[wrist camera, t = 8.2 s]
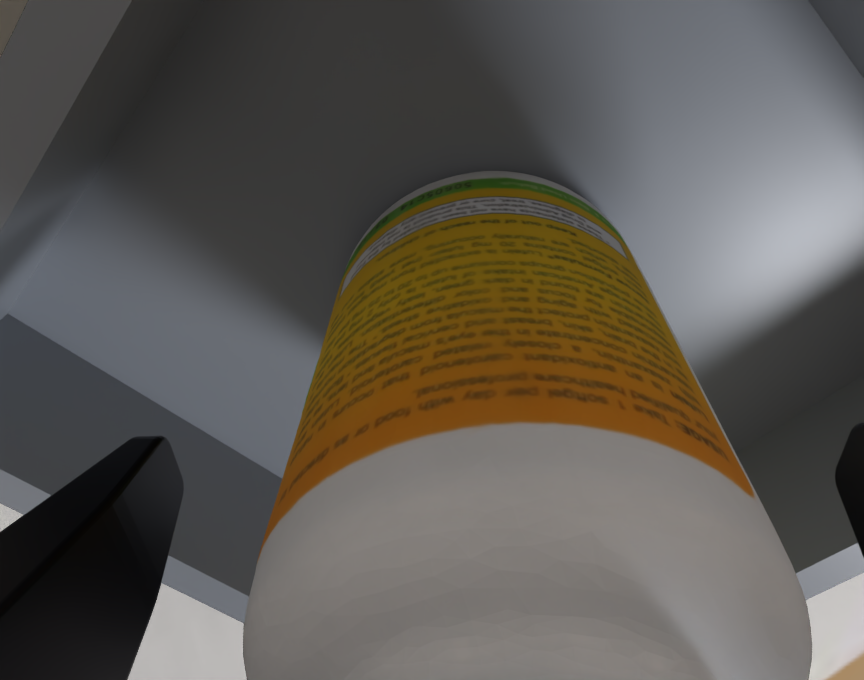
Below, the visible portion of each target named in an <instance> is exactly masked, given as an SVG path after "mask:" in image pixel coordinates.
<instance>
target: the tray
mask: <svg viewBox="0 0 864 680" xmlns="http://www.w3.org/2000/svg"><path fill="white" fill-rule="evenodd" d="M480 171H509V172H516V173H523V174H528V175H533V176H537V177H540V178H544V179H546V180H549V181H552V182H554V183H557V184H559V185H561V186H563V187H565V188H567V189H569V190H571V191H573V192H574V193H576V194H578V195H579V196H581V197H583V198H584V199H586V200H587V201H589V202H590V203H591V204H593V205H594V206H595V207H596V208H597V209H598V210H600V211H601V212H602V213H603V214H604V215H605V216H606V217H607V218H608V219H609V220H610V221H611V222H612V223H613V225H614V226H615V227H616V228H617V230H618V231H619V232H620V234H621V235H622V237H623V238H624V240H625V242H626V243H627V245H628V247H629V248H630V250H631V252H632V254H633V255H634V257H635V259H636V261H637V263H638V265H639V267H640V269H641V271H642V272H643V274H644V276H645V278H646V280H647V282H648V283H649V285H650V287H651V289H652V291H653V293H654V295H655V297H656V299H657V301H658V303H659V305H660V307H661V309H662V311H663V313H664V315H665V317H666V319H667V321H668V323H669V325H670V327H671V329H672V331H673V332H674V334H675V336H676V338H677V340H678V342H679V344H680V346H681V348H682V350H683V352H684V354H685V356H686V358H687V360H688V362H689V364H690V366H691V367H692V369H693V371H694V373H695V375H696V377H697V379H698V381H699V383H700V385H701V387H702V389H703V391H704V393H705V395H706V397H707V399H708V401H709V402H710V404H711V406H712V408H713V410H714V412H715V414H716V416H717V418H718V420H719V422H720V424H721V426H722V428H723V430H724V432H725V434H726V436H727V438H728V439H729V441H730V443H731V445H732V447H733V449H734V451H735V453H736V455H737V457H738V459H739V461H740V463H741V464H742V466H743V468H744V470H745V472H746V474H747V476H748V478H749V480H750V482H751V484H752V486H753V487H754V489H755V491H756V493H757V495H758V497H759V499H760V501H761V503H762V505H763V507H764V509H765V511H766V513H767V515H768V516H769V518H770V520H771V522H772V524H773V526H774V528H775V530H776V532H777V534H778V536H779V538H780V540H781V543H782V545H783V547H784V549H785V551H786V553H787V555H788V557H789V559H790V561H791V563H792V566H793V568H794V571H795V573H796V576H797V578H798V580H799V583H800V585H801V588H802V590H803V593H804V597H805V600H807V599H809V598H811V597H813V596H815V595H817V594H819V593H822V592H824V591H826V590H828V589H830V588H832V587H834V586H836V585H838V584H841V583H843V582H845V581H847V580H849V579H851V578H853V577H855V576H857V575H860V574H862V573H864V558H863V555H862V552H861V550H860V547H859V545H858V542H857V539H856V537H855V534H854V532H853V529H852V526H851V524H850V521H849V518H848V516H847V513H846V511H845V508H844V505H843V503H842V500H841V498H840V495H839V492H838V490H837V487H836V482H835V469H836V466H837V463H838V461H839V458H840V456H841V453H842V451H843V448H844V446H845V443H846V441H847V439H848V436H849V434H850V431H851V429H852V428H853V427H854V426H855V425H856V424H858V423H861V422H864V0H28V2H27V4H26V6H25V8H24V10H23V12H22V14H21V17H20V19H19V21H18V23H17V25H16V27H15V29H14V31H13V33H12V35H11V37H10V39H9V41H8V43H7V45H6V47H5V49H4V51H3V53H2V56H1V58H0V503H1V504H3V505H5V506H7V507H9V508H11V509H13V510H15V511H17V512H19V513H21V514H23V515H25V514H26V513H27V512H29V511H30V510H32V509H33V508H34V507H36V506H37V505H39V504H40V503H41V502H43V501H44V500H46V499H47V498H48V497H50V496H51V495H53V494H54V493H55V492H57V491H58V490H60V489H61V488H62V487H64V486H65V485H66V484H68V483H69V482H71V481H72V480H73V479H75V478H76V477H78V476H79V475H80V474H82V473H83V472H85V471H86V470H87V469H89V468H90V467H92V466H93V465H94V464H96V463H97V462H98V461H100V460H101V459H103V458H104V457H105V456H107V455H108V454H110V453H111V452H112V451H114V450H115V449H117V448H118V447H119V446H121V445H122V444H124V443H125V442H126V441H128V440H129V439H131V438H132V437H135V436H149V435H161V436H164V437H166V438H167V439H168V440H169V442H170V444H171V446H172V449H173V452H174V455H175V457H176V460H177V463H178V466H179V468H180V471H181V474H182V477H183V481H184V494H183V499H182V503H181V507H180V511H179V515H178V519H177V523H176V527H175V531H174V534H173V538H172V542H171V546H170V550H169V554H168V558H167V562H166V566H165V570H164V574H163V578H162V582H161V583H163V584H165V585H167V586H169V587H171V588H173V589H175V590H177V591H179V592H181V593H184V594H186V595H188V596H190V597H192V598H194V599H196V600H198V601H200V602H202V603H204V604H206V605H208V606H210V607H212V608H214V609H216V610H218V611H220V612H222V613H224V614H226V615H228V616H230V617H232V618H234V619H236V620H238V621H240V622H242V623H244V621H245V615H246V609H247V603H248V599H249V595H250V591H251V587H252V583H253V579H254V575H255V571H256V565H257V560H258V557H259V553H260V549H261V546H262V543H263V539H264V536H265V533H266V529H267V526H268V523H269V520H270V517H271V514H272V510H273V507H274V504H275V501H276V498H277V494H278V491H279V488H280V485H281V482H282V478H283V475H284V472H285V468H286V465H287V462H288V459H289V455H290V452H291V449H292V446H293V443H294V440H295V436H296V433H297V429H298V426H299V423H300V420H301V416H302V411H303V408H304V405H305V401H306V397H307V394H308V391H309V388H310V385H311V382H312V379H313V375H314V372H315V368H316V365H317V362H318V359H319V357H320V353H321V349H322V345H323V341H324V338H325V335H326V331H327V328H328V325H329V321H330V318H331V314H332V311H333V307H334V303H335V300H336V296H337V293H338V290H339V287H340V283H341V280H342V277H343V275H344V272H345V269H346V266H347V264H348V262H349V260H350V257H351V255H352V253H353V251H354V249H355V248H356V246H357V244H358V243H359V241H360V240H361V238H362V237H363V235H364V234H365V233H366V231H367V230H368V229H369V227H370V226H371V225H372V224H373V223H374V222H375V221H376V220H377V219H378V218H379V217H380V216H381V215H382V214H383V213H384V212H385V211H386V210H387V209H388V208H390V207H391V206H392V205H393V204H395V203H396V202H397V201H399V200H400V199H402V198H403V197H405V196H407V195H408V194H410V193H412V192H414V191H415V190H417V189H419V188H421V187H423V186H426V185H428V184H430V183H433V182H436V181H439V180H442V179H445V178H448V177H452V176H456V175H461V174H467V173H473V172H480Z"/></svg>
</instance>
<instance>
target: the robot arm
mask: <svg viewBox="0 0 864 680" xmlns="http://www.w3.org/2000/svg"><path fill="white" fill-rule="evenodd" d="M835 482H836V487H837V490H838V492H839V495H840V498H841V500H842V503H843V505H844V508H845V511H846V513H847V516H848V518H849V521H850V524H851V526H852V529H853V532H854V534H855V537H856V539H857V542H858V545H859V547H860V550H861V552H862V555H863V558H864V422H861V423H858V424H856V425H855V426H854V427H853V428H852V429H851V431H850V434H849V436H848V439H847V441H846V443H845V446H844V448H843V451H842V453H841V456H840V458H839V461H838V463H837V466H836V469H835ZM183 494H184V481H183V477H182V474H181V471H180V468H179V466H178V463H177V460H176V457H175V455H174V452H173V449H172V446H171V444H170V442H169V440H168V439H167V438H166V437H164V436H161V435H149V436H135V437H132V438H131V439H129V440H128V441H126V442H125V443H124V444H122V445H121V446H119V447H118V448H117V449H115V450H114V451H112V452H111V453H110V454H108V455H107V456H105V457H104V458H103V459H101V460H100V461H98V462H97V463H96V464H94V465H93V466H92V467H90V468H89V469H87V470H86V471H85V472H83V473H82V474H80V475H79V476H78V477H76V478H75V479H73V480H72V481H71V482H69V483H68V484H66V485H65V486H64V487H62V488H61V489H60V490H58V491H57V492H55V493H54V494H53V495H51V496H50V497H48V498H47V499H46V500H44V501H43V502H41V503H40V504H39V505H37V506H36V507H34V508H33V509H32V510H30V511H29V512H27V513H26V514H25V515H23V516H22V517H21V518H19V519H18V520H16V521H15V522H14V523H12V524H11V525H9V526H8V527H7V528H5V529H4V530H2V531H1V532H0V680H127V679H128V676H129V674H130V671H131V668H132V666H133V663H134V660H135V658H136V655H137V652H138V650H139V647H140V644H141V641H142V639H143V636H144V633H145V631H146V628H147V625H148V623H149V620H150V617H151V614H152V611H153V609H154V606H155V603H156V600H157V596H158V593H159V589H160V586H161V582H162V578H163V574H164V570H165V566H166V562H167V558H168V554H169V550H170V546H171V542H172V538H173V534H174V531H175V527H176V523H177V519H178V515H179V511H180V507H181V503H182V499H183Z"/></svg>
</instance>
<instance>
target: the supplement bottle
mask: <svg viewBox="0 0 864 680" xmlns="http://www.w3.org/2000/svg"><path fill="white" fill-rule="evenodd" d="M243 657H244V664H245V670H246V676H247V680H808V679H809V673H810V667H811V661H812V638H811V627H810V620H809V614H808V608H807V604H806V601H805V597H804V593H803V590H802V588H801V585H800V583H799V580H798V578H797V576H796V573H795V571H794V568H793V566H792V563H791V561H790V559H789V557H788V555H787V553H786V551H785V549H784V547H783V545H782V543H781V540H780V538H779V536H778V534H777V532H776V530H775V528H774V526H773V524H772V522H771V520H770V518H769V516H768V515H767V513H766V511H765V509H764V507H763V505H762V503H761V501H760V499H759V497H758V495H757V493H756V491H755V489H754V487H753V486H752V484H751V482H750V480H749V478H748V476H747V474H746V472H745V470H744V468H743V466H742V464H741V463H740V461H739V459H738V457H737V455H736V453H735V451H734V449H733V447H732V445H731V443H730V441H729V439H728V438H727V436H726V434H725V432H724V430H723V428H722V426H721V424H720V422H719V420H718V418H717V416H716V414H715V412H714V410H713V408H712V406H711V404H710V402H709V401H708V399H707V397H706V395H705V393H704V391H703V389H702V387H701V385H700V383H699V381H698V379H697V377H696V375H695V373H694V371H693V369H692V367H691V366H690V364H689V362H688V360H687V358H686V356H685V354H684V352H683V350H682V348H681V346H680V344H679V342H678V340H677V338H676V336H675V334H674V332H673V331H672V329H671V327H670V325H669V323H668V321H667V319H666V317H665V315H664V313H663V311H662V309H661V307H660V305H659V303H658V301H657V299H656V297H655V295H654V293H653V291H652V289H651V287H650V285H649V283H648V282H647V280H646V278H645V276H644V274H643V272H642V271H641V269H640V267H639V265H638V263H637V261H636V259H635V257H634V255H633V254H632V252H631V250H630V248H629V247H628V245H627V243H626V242H625V240H624V238H623V237H622V235H621V234H620V232H619V231H618V230H617V228H616V227H615V226H614V225H613V223H612V222H611V221H610V220H609V219H608V218H607V217H606V216H605V215H604V214H603V213H602V212H601V211H600V210H598V209H597V208H596V207H595V206H594V205H593V204H591V203H590V202H589V201H587V200H586V199H584V198H583V197H581V196H579V195H578V194H576V193H574V192H573V191H571V190H569V189H567V188H565V187H563V186H561V185H559V184H557V183H554V182H552V181H549V180H546V179H544V178H540V177H537V176H533V175H528V174H523V173H516V172H509V171H480V172H473V173H467V174H461V175H456V176H452V177H448V178H445V179H442V180H439V181H436V182H433V183H430V184H428V185H426V186H423V187H421V188H419V189H417V190H415V191H414V192H412V193H410V194H408V195H407V196H405V197H403V198H402V199H400V200H399V201H397V202H396V203H395V204H393V205H392V206H391V207H390V208H388V209H387V210H386V211H385V212H384V213H383V214H382V215H381V216H380V217H379V218H378V219H377V220H376V221H375V222H374V223H373V224H372V225H371V226H370V227H369V229H368V230H367V231H366V233H365V234H364V235H363V237H362V238H361V240H360V241H359V243H358V244H357V246H356V248H355V249H354V251H353V253H352V255H351V257H350V260H349V262H348V264H347V266H346V269H345V272H344V275H343V277H342V280H341V283H340V287H339V290H338V293H337V296H336V300H335V303H334V307H333V311H332V314H331V318H330V321H329V325H328V328H327V331H326V335H325V338H324V341H323V345H322V349H321V353H320V357H319V359H318V362H317V365H316V368H315V372H314V375H313V379H312V382H311V385H310V388H309V391H308V394H307V397H306V401H305V405H304V408H303V411H302V416H301V420H300V423H299V426H298V429H297V433H296V436H295V440H294V443H293V446H292V449H291V452H290V455H289V459H288V462H287V465H286V468H285V472H284V475H283V478H282V482H281V485H280V488H279V491H278V494H277V498H276V501H275V504H274V507H273V510H272V514H271V517H270V520H269V523H268V526H267V529H266V533H265V536H264V539H263V543H262V546H261V549H260V553H259V557H258V560H257V565H256V571H255V575H254V579H253V583H252V587H251V591H250V595H249V599H248V603H247V609H246V615H245V621H244V633H243Z"/></svg>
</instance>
